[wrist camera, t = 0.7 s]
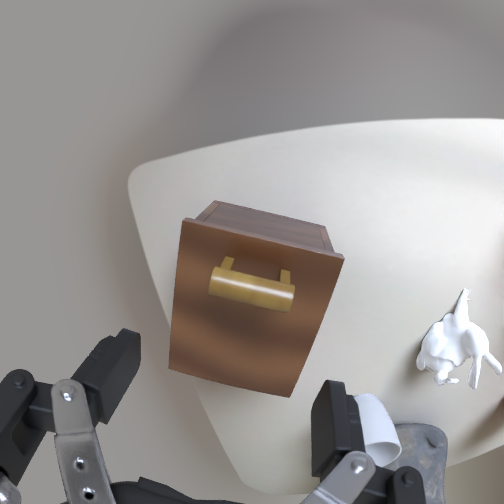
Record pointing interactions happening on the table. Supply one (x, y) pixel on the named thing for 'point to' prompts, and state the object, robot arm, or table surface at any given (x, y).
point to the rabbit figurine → (455, 346)
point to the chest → (267, 224)
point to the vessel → (423, 457)
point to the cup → (378, 430)
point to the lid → (247, 306)
